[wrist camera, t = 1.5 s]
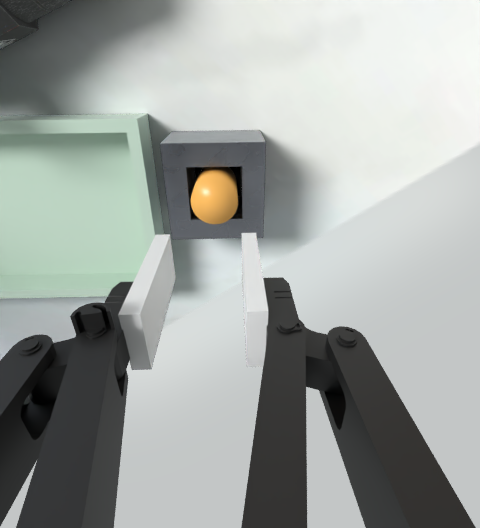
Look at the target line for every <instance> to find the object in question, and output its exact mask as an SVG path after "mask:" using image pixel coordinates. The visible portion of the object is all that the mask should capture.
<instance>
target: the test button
mask: <svg viewBox="0 0 480 528" xmlns="http://www.w3.org/2000/svg"><path fill="white" fill-rule="evenodd" d="M191 207H192V210H193V212H194V213H195V215H196V216H197V217H198V218H199V219H200V220H202V221H204V222H206V223H209V224H221V223H224V222H226V221H228V220H229V219H231V218H232V217H233V215H234V214H235V212H236V210H237V207H238V194H237V180H236V176H235V174H234V172H233V171H232V170H231V169H230V168H229V167H204V168H203V169H202V170H201V171H200V172H199V174H198V177H197V180H196V183H195V186H194V189H193V192H192V195H191Z"/></svg>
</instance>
